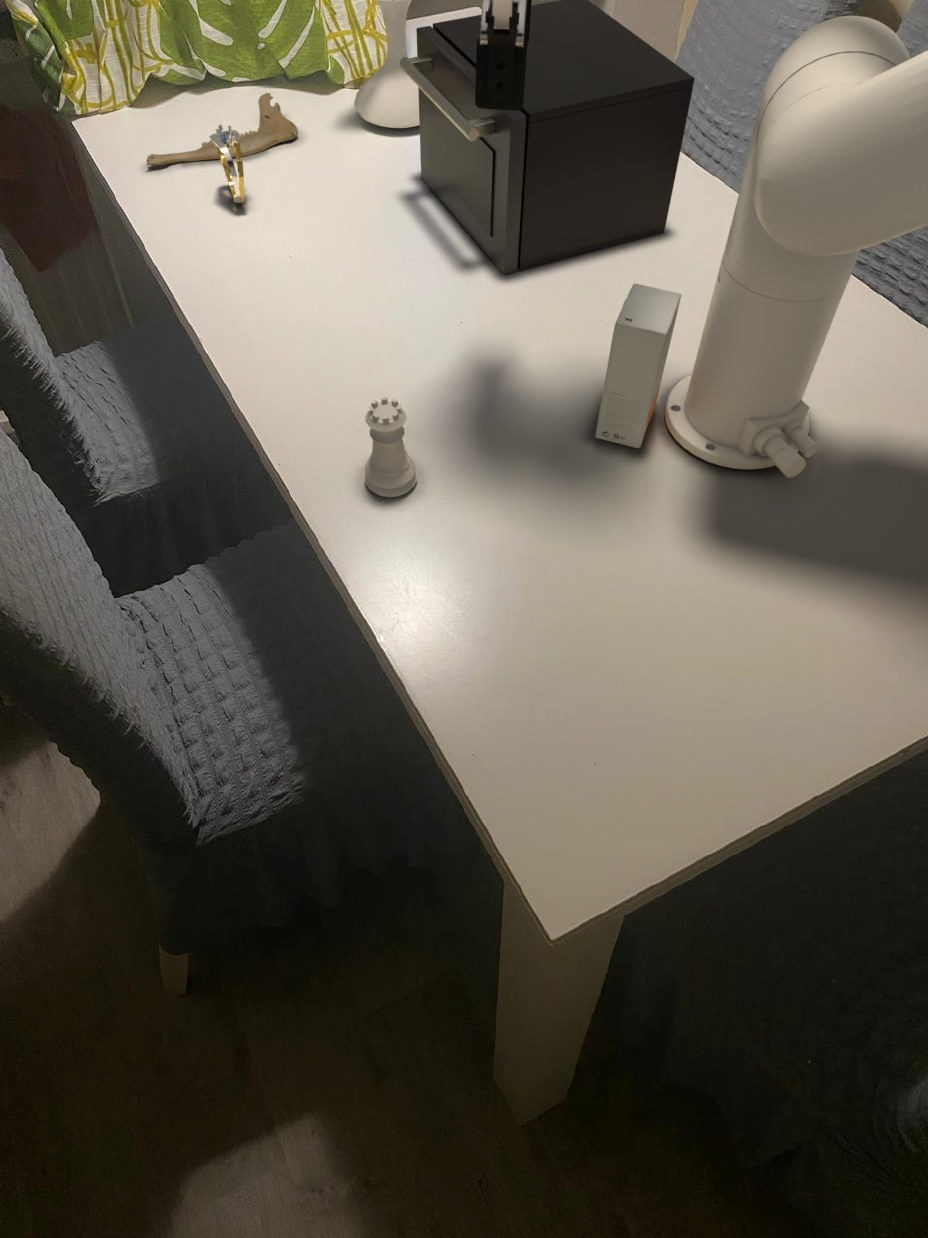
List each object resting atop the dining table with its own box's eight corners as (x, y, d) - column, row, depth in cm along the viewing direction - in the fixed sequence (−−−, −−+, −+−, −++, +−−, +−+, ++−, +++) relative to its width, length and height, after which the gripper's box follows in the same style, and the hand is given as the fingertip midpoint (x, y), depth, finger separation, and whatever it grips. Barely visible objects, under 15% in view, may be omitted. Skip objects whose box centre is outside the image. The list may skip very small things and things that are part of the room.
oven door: (477, 282, 93) (480, 126, 81) (396, 182, 105) (388, 32, 93) (517, 271, 95) (526, 116, 82) (433, 173, 106) (430, 24, 94)
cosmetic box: (640, 450, 79) (666, 335, 69) (593, 439, 80) (613, 323, 70) (656, 407, 82) (683, 291, 73) (611, 396, 83) (631, 280, 73)
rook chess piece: (420, 464, 78) (417, 391, 71) (413, 502, 75) (409, 429, 69) (369, 461, 78) (361, 387, 71) (360, 498, 75) (351, 425, 69)
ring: (257, 213, 101) (243, 141, 95) (229, 218, 101) (213, 146, 94) (245, 183, 105) (232, 111, 99) (218, 187, 105) (202, 116, 98)
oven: (519, 272, 95) (529, 113, 82) (435, 174, 107) (432, 22, 94) (664, 233, 99) (695, 77, 87) (568, 144, 111) (582, -5, 98)
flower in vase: (405, 87, 120) (394, -153, 100) (462, 117, 115) (463, -129, 95) (327, 118, 115) (299, -129, 95) (384, 151, 110) (367, -102, 90)
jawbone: (319, 133, 113) (318, 116, 112) (195, 200, 104) (191, 183, 102) (269, 105, 116) (267, 88, 114) (143, 168, 107) (139, 151, 105)
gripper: (590, -220, 44) (553, 138, 58) (589, -293, 54) (558, 26, 68) (437, -228, 44) (437, 131, 58) (464, -299, 54) (459, 20, 68)
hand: (502, 74), depth 63 cm, fingers open, 9 cm apart
